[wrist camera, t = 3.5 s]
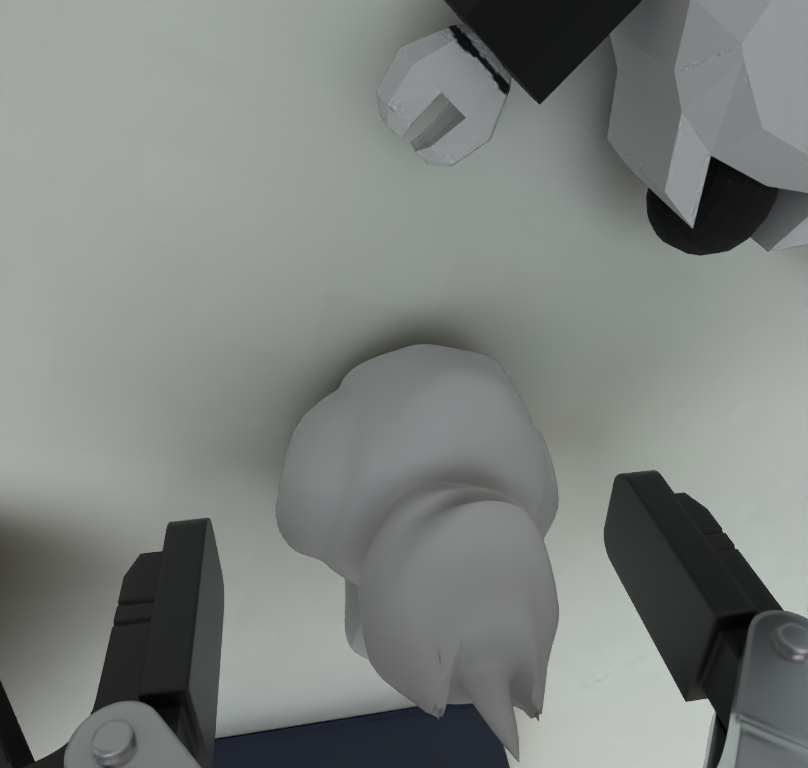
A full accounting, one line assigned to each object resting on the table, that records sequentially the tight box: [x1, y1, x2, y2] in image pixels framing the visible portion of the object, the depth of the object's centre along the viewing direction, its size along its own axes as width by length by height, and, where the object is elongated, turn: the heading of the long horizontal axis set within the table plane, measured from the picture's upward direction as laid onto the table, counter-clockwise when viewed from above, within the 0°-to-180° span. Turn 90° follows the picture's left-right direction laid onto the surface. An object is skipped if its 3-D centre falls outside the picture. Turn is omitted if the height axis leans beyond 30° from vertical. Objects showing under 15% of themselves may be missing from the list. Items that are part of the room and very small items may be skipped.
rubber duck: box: [276, 344, 559, 762], centre depth 12 cm, size 5×7×8 cm
